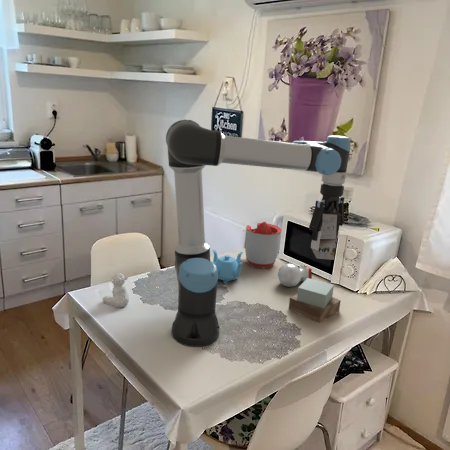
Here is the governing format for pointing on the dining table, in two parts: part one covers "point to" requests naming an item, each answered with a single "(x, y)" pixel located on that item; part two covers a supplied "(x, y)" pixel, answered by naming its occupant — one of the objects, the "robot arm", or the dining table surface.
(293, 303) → the tower base
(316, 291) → the tower top
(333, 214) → the coffee box
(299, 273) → the potion bottle
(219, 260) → the teapot
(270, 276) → the dining table surface
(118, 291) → the sitting furry creature
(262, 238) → the citrus juicer
